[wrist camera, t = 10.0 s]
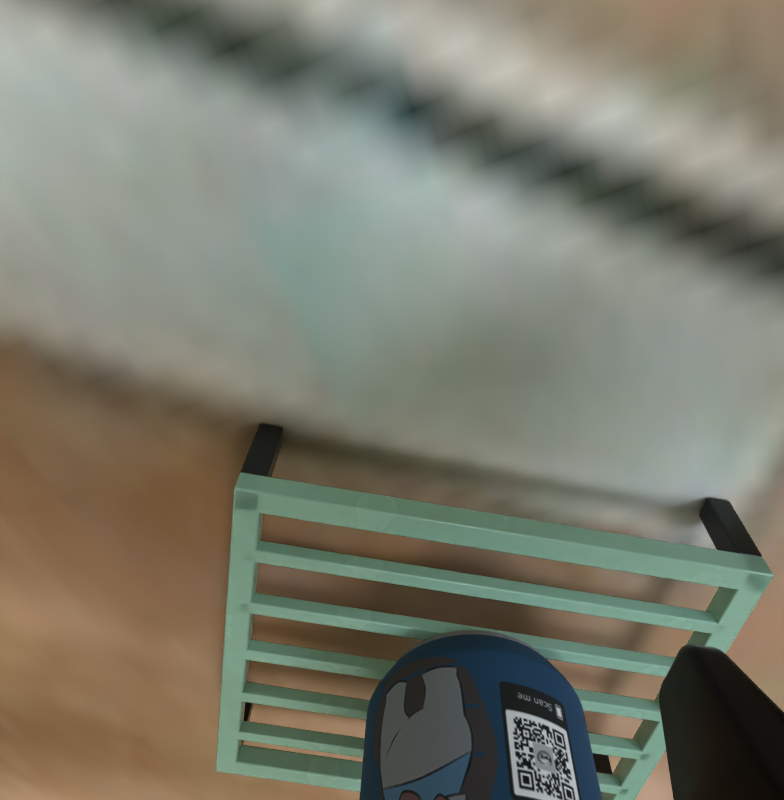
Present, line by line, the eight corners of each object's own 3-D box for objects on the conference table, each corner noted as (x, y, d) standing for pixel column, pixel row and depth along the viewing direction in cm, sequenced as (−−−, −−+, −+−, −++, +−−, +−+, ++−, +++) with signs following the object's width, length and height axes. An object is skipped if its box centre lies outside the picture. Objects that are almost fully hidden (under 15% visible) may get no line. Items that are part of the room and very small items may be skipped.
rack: (729, 500, 23) (774, 575, 20) (597, 746, 30) (617, 829, 27) (259, 422, 22) (233, 488, 19) (236, 693, 30) (214, 772, 26)
